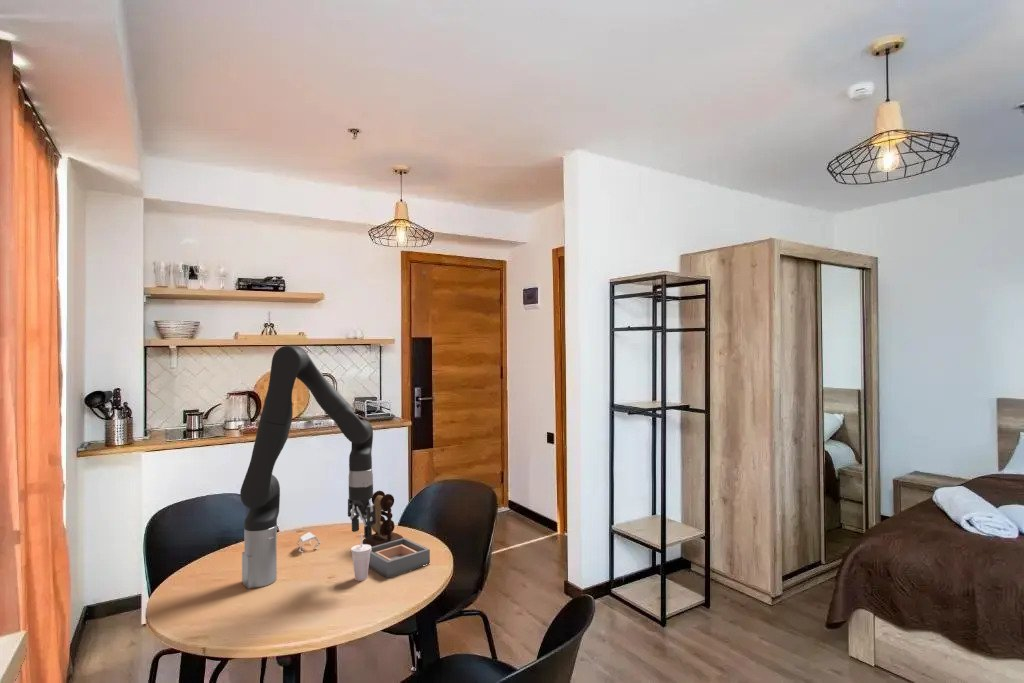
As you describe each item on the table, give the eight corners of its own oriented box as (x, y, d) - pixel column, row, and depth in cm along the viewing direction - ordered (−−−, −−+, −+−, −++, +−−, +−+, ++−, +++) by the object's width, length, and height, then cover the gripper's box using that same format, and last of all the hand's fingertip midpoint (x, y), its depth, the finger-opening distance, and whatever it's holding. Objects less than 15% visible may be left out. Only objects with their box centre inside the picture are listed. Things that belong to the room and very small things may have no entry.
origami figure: (322, 552, 190) (322, 538, 190) (297, 556, 187) (297, 542, 187) (319, 541, 201) (319, 528, 201) (296, 545, 198) (296, 532, 198)
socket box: (387, 578, 167) (387, 562, 167) (363, 564, 179) (363, 549, 179) (429, 564, 178) (429, 549, 178) (404, 551, 190) (404, 537, 190)
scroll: (355, 546, 196) (355, 492, 196) (390, 536, 206) (390, 485, 206) (374, 557, 185) (374, 500, 185) (410, 547, 195) (410, 492, 195)
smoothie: (373, 573, 171) (373, 530, 171) (369, 582, 164) (368, 537, 165) (353, 574, 171) (353, 530, 171) (348, 582, 164) (348, 537, 165)
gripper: (339, 481, 171) (340, 532, 171) (360, 489, 160) (361, 543, 160) (361, 477, 176) (361, 526, 176) (382, 484, 166) (383, 536, 165)
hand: (361, 534), depth 168 cm, fingers open, 8 cm apart
